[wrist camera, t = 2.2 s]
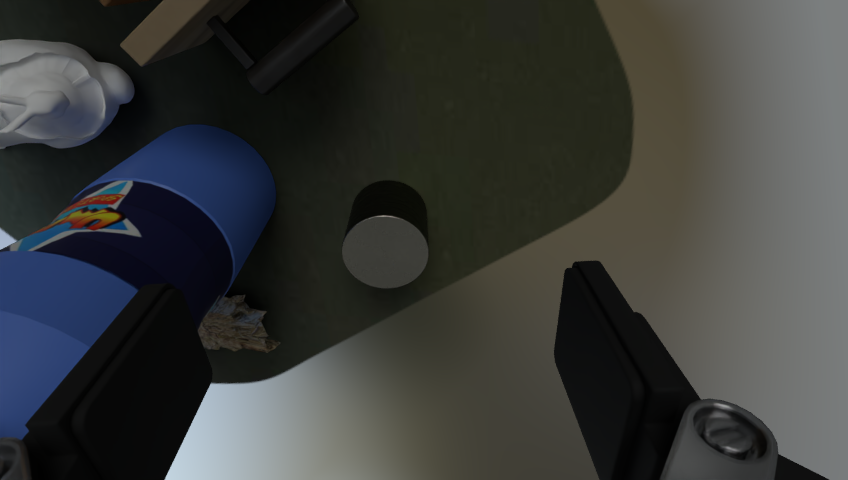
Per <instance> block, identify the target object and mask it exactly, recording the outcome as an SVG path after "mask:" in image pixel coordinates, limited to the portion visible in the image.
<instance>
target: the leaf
mask: <svg viewBox="0 0 848 480" xmlns="http://www.w3.org/2000/svg"><path fill="white" fill-rule="evenodd" d="M244 298H245V295H241V296H240V295H235V296H232V297H231V298H227V297H223V298H222V299H221V300H220V301H219V302H218V303H217V304H216V305H215V306H214V307H213V308H212V310H211V311H210V312H209V313H208V314H207V315H206V317H205V318H204V319H203V320H202V322H201V324H200V327H199V329H198V333H199V336H200V339H201V341H202V344H203V346H204V349H205V348H207V349H209V350H210V349H214V350H219V348H220V347H224V348H228V349H230V350H233V351H236V350H239V349H242V348H246V349H250V350H255V351H260V352H267V353H268V352H270V351H272V350H274V349H275V348H276V347H277V346H278V345H279V344H280V341H275V340H269V339H266V338H267V337H269V335H267V333H266V331H265V329H264V327H263V324H262V322H261V321H262V320H263V318H264V317H263V315H264V314H265V313H267V311H260V310H256V309H250V308H249V306H248V305H247V304H246V303H245V302H244Z"/></svg>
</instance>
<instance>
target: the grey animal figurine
mask: <svg viewBox="0 0 848 480" xmlns="http://www.w3.org/2000/svg"><path fill="white" fill-rule="evenodd" d="M134 92H135V89H134V85H133V82H132V80H131V78H130V77H129V75H128V74H127V73H126V72H125V71H124V70H122V69H121V68H119V67H118V66H116V65H114V64H110V63H105V62H97V61H96V60H94V59H93V58H92V56H91V55H90V54H89V53H88V52H87V51H85V50H84V49H82V48H80V47H77V46H75V45H73V44H70V43H65V42H48V41H42V40H23V39H12V40H1V41H0V149H5V148H6V146H13V145H17V144H21V143H44V144H47V145H49V146H51V147H55V148H70V147H75V146H79V145H82V144H84V143H86V142H88V141H90V140H92V139H94V138H96V137H97V136H98V135H100V134H101V132H102V131H103V130H104V129H105V128H106V127H107V126H108V125H109V124H110V123H111V122H112V120H113V119H114V117H115V116H116V114H117V112H118V109H119V105H121V104H125V103H128V102H130V101H131V100H132V98H133V96H134Z"/></svg>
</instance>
